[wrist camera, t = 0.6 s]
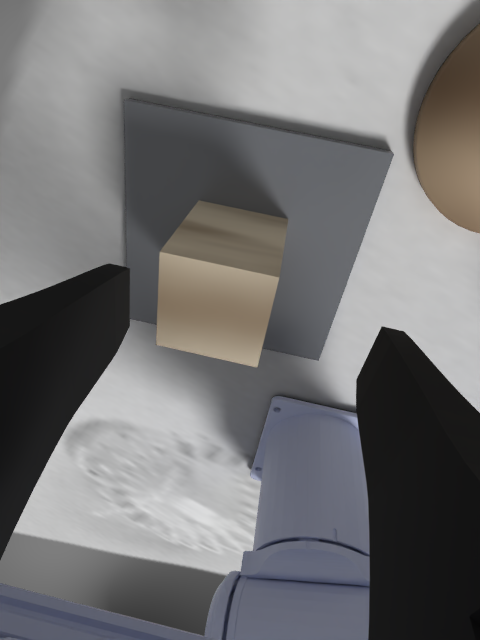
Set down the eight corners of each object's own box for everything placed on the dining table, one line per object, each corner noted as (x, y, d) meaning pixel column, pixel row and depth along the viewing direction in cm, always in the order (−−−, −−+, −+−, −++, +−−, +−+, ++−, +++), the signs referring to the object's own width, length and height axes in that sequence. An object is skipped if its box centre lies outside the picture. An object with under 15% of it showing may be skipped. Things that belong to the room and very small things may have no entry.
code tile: (318, 354, 24) (318, 360, 24) (131, 312, 25) (127, 318, 24) (391, 151, 17) (393, 154, 17) (129, 98, 18) (123, 99, 17)
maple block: (270, 296, 22) (257, 367, 17) (191, 278, 22) (156, 344, 17) (288, 219, 19) (279, 277, 14) (198, 200, 19) (159, 251, 14)
